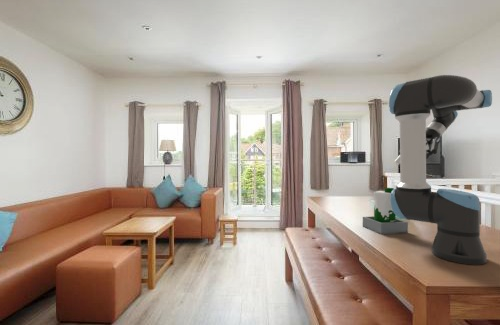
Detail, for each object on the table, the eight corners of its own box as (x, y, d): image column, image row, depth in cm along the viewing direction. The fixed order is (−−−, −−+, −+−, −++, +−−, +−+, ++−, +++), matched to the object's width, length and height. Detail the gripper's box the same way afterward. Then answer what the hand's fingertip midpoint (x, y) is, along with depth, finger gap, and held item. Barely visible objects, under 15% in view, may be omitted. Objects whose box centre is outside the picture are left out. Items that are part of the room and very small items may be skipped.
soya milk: (390, 231, 119) (390, 189, 118) (371, 227, 126) (371, 187, 125) (398, 228, 124) (398, 187, 124) (379, 225, 131) (379, 186, 131)
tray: (407, 232, 119) (407, 222, 119) (381, 234, 117) (381, 223, 117) (386, 225, 133) (386, 215, 133) (362, 226, 131) (362, 216, 131)
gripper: (461, 136, 116) (434, 169, 113) (416, 140, 140) (392, 167, 138) (452, 124, 115) (424, 157, 112) (408, 130, 139) (384, 158, 136)
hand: (406, 163), depth 125 cm, fingers open, 13 cm apart
